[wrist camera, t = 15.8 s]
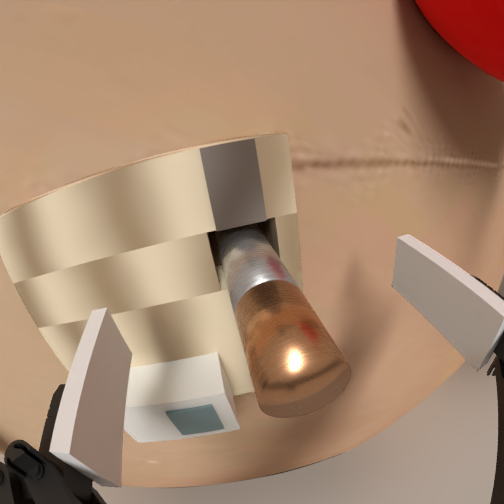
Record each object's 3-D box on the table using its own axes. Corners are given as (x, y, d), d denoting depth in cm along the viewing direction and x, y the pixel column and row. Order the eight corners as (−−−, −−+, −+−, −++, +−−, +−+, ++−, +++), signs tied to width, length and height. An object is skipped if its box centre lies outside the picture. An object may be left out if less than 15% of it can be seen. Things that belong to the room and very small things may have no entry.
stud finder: (139, 407, 19) (137, 444, 16) (111, 370, 17) (103, 411, 13) (232, 392, 20) (241, 431, 17) (217, 351, 18) (225, 395, 14)
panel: (107, 388, 21) (103, 415, 19) (11, 208, 13) (-14, 224, 10) (295, 351, 23) (307, 378, 21) (270, 132, 15) (288, 133, 13)
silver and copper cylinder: (220, 259, 18) (264, 426, 8) (211, 219, 17) (251, 377, 6) (261, 249, 19) (346, 399, 8) (255, 209, 17) (355, 344, 7)
